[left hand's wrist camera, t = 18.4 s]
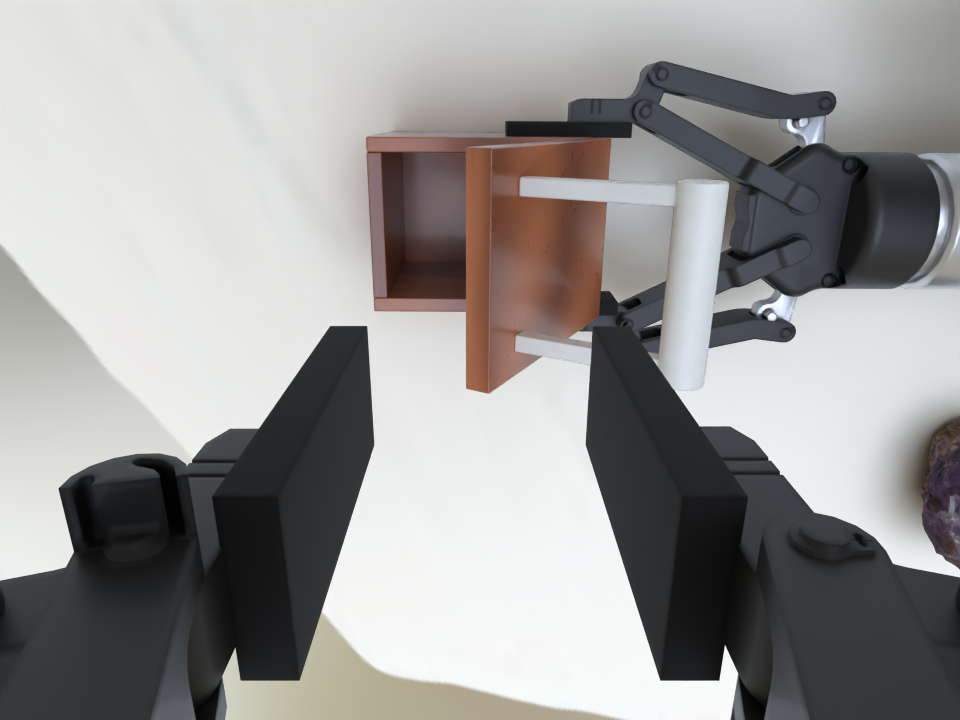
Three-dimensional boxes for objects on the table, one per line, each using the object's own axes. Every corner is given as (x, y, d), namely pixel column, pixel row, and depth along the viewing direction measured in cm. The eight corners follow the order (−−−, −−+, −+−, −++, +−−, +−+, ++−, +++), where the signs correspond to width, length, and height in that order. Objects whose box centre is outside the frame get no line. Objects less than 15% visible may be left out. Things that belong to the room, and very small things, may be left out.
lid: (465, 389, 26) (683, 437, 22) (465, 146, 23) (717, 154, 19) (580, 314, 36) (745, 338, 33) (591, 138, 33) (773, 142, 29)
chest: (396, 270, 46) (374, 311, 37) (391, 131, 43) (365, 136, 34) (565, 270, 46) (588, 312, 37) (572, 132, 43) (599, 137, 34)
